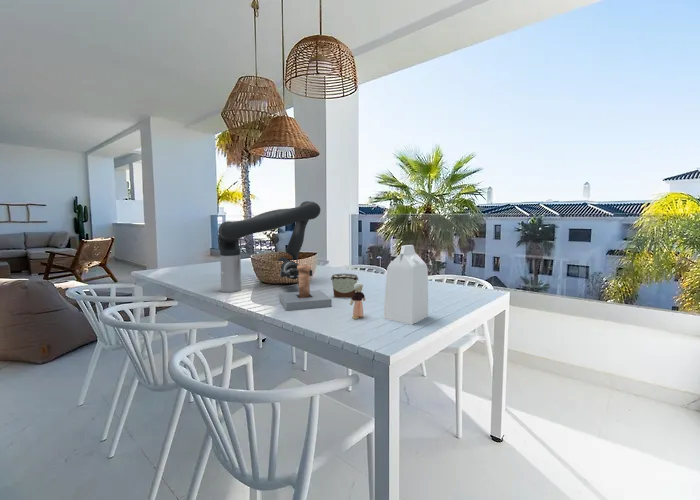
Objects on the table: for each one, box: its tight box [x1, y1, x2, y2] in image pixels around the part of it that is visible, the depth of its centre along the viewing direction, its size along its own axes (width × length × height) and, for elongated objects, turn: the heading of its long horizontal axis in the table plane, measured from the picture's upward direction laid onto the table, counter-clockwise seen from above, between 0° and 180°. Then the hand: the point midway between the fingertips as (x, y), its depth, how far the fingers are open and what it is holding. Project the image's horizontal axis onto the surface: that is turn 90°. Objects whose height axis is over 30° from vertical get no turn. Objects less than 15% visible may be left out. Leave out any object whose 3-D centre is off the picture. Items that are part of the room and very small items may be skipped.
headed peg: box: [297, 264, 312, 298], centre depth 146 cm, size 6×6×16 cm
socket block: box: [278, 289, 333, 311], centre depth 146 cm, size 18×18×3 cm
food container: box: [330, 273, 359, 299], centre depth 158 cm, size 12×6×10 cm, turn 84°
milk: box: [383, 244, 429, 325], centre depth 125 cm, size 12×12×26 cm
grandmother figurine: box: [349, 281, 366, 320], centre depth 126 cm, size 8×4×13 cm, turn 148°
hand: (299, 275), depth 154 cm, fingers open, 8 cm apart
